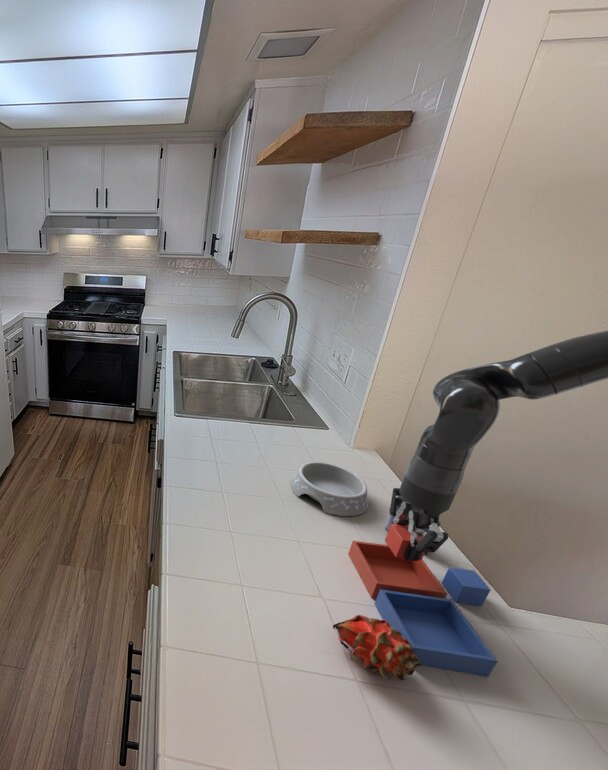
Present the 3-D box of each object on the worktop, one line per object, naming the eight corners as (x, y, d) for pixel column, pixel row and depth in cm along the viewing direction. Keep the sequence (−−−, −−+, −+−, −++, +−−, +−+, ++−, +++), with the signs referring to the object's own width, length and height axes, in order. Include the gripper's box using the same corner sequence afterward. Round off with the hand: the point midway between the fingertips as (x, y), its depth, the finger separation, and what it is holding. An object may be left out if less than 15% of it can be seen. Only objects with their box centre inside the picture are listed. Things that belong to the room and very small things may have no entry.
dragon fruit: (415, 695, 62) (330, 655, 70) (420, 639, 65) (338, 606, 73) (421, 693, 56) (327, 649, 64) (426, 631, 60) (336, 597, 67)
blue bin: (444, 614, 73) (452, 599, 72) (488, 676, 63) (498, 661, 62) (374, 603, 75) (379, 589, 74) (405, 662, 65) (412, 647, 64)
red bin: (408, 561, 85) (414, 548, 83) (440, 608, 74) (447, 593, 73) (348, 554, 87) (352, 540, 85) (371, 597, 76) (376, 583, 75)
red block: (408, 543, 79) (415, 526, 77) (421, 560, 75) (429, 543, 73) (384, 540, 80) (390, 523, 78) (395, 557, 76) (402, 540, 74)
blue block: (466, 586, 79) (474, 570, 77) (481, 606, 75) (491, 589, 73) (441, 583, 80) (448, 567, 78) (455, 602, 75) (464, 586, 74)
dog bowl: (312, 467, 117) (316, 452, 115) (379, 501, 103) (385, 484, 101) (278, 486, 109) (282, 471, 107) (346, 526, 95) (351, 508, 92)
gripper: (483, 508, 64) (446, 582, 70) (430, 460, 76) (404, 526, 83) (432, 502, 65) (401, 575, 71) (389, 456, 78) (366, 521, 84)
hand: (402, 548), depth 77 cm, fingers closed on red block, 4 cm apart
